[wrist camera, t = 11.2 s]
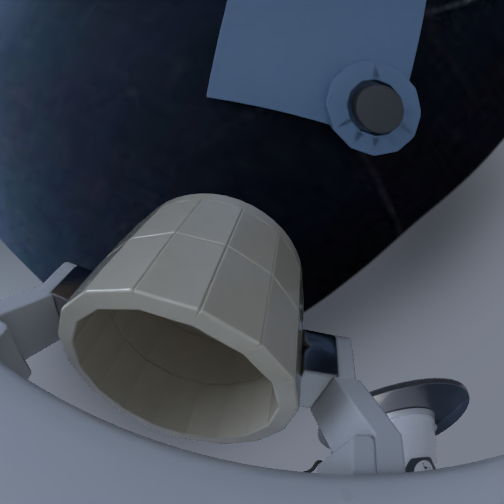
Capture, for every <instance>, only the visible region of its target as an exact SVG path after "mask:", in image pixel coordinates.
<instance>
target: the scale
mask: <svg viewBox="0 0 504 504" xmlns="http://www.w3.org/2000/svg"><path fill="white" fill-rule="evenodd" d="M425 5H426V0H227V4H226V8H225V12H224V16H223V20H222V25H221V29H220V33H219V38H218V42H217V47H216V51H215V56H214V61H213V66H212V71H211V76H210V81H209V86H208V91H207V97H208V98H215V99H221V100H227V101H233V102H238V103H243V104H248V105H253V106H258V107H263V108H267V109H272V110H276V111H280V112H285V113H289V114H293V115H297V116H300V117H304V118H308V119H312V120H315V121H319V122H322V123H326V124H329V125H330V126H331V128H332V129H333V130H334V131H335V132H336V133H337V134H338V135H339V136H340V137H341V138H342V139H343V140H344V141H345V143H346V144H347V145H348V146H349V147H351V148H352V149H355V150H358V151H361V152H364V153H367V154H370V155H373V156H374V155H375V156H376V155H381V154H387V153H392V152H396V151H399V150H400V149H401V148H402V147H403V146H404V145H405V144H406V143H408V142H409V141H410V140H411V139H412V138H413V137H414V135H415V133H416V129H417V126H418V123H419V120H420V116H421V114H420V113H421V110H420V105H419V100H418V96H417V91H416V88H415V87H414V86H413V85H412V83H411V82H410V81H409V79H410V75H411V71H412V67H413V63H414V59H415V55H416V50H417V46H418V41H419V37H420V32H421V27H422V22H423V16H424V11H425ZM366 85H384V86H387V87H389V88H391V89H393V90H394V91H395V92H396V93H397V94H398V95H399V97H400V98H401V100H402V103H403V107H404V115H403V119H402V122H401V123H400V125H399V126H398V127H397V128H396V129H395V130H393V131H392V132H389V133H384V134H380V133H375V132H372V131H370V130H368V129H367V128H365V127H364V126H362V125H361V124H360V123H359V122H358V121H357V120H356V118H355V116H354V114H353V111H352V100H353V97H354V95H355V93H356V92H357V91H358V90H359V89H360V88H362V87H364V86H366Z"/></svg>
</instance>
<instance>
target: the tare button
mask: <svg viewBox="0 0 504 504" xmlns="http://www.w3.org/2000/svg"><path fill="white" fill-rule="evenodd" d="M352 111H353V114H354V116H355V118H356V120H357V121H358V122H359V123H360V124H361V125H362V126H364V127H365V128H367V129H368V130H370V131H372V132H375V133H380V134H384V133H389V132H392V131H393V130H395V129H396V128H397V127H398V126H399V125H400V123H401V122H402V119H403V115H404V107H403V103H402V100H401V98H400V97H399V95H398V94H397V93H396V92H395V91H394V90H393V89H391V88H389V87H387V86H384V85H366V86H364V87H362V88H360V89H359V90H358V91H357V92H356V93H355V95H354V97H353V100H352Z"/></svg>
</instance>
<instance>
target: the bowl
mask: <svg viewBox="0 0 504 504" xmlns="http://www.w3.org/2000/svg"><path fill="white" fill-rule="evenodd" d="M303 304H304V294H303V279H302V267H301V262H300V259H299V256H298V253H297V251H296V249H295V247H294V245H293V243H292V241H291V240H290V238H289V237H288V236H287V234H286V233H285V232H284V230H283V229H282V228H281V227H280V226H279V225H278V224H277V223H276V222H275V221H274V220H273V219H271V218H270V217H269V216H268V215H266V214H265V213H264V212H262V211H261V210H259V209H257V208H256V207H254V206H252V205H250V204H248V203H245V202H243V201H241V200H238V199H235V198H231V197H228V196H223V195H217V194H191V195H186V196H182V197H178V198H175V199H173V200H170V201H168V202H166V203H164V204H163V205H161V206H159V207H158V208H157V209H155V210H154V211H153V212H152V213H151V214H150V215H149V216H148V217H147V218H145V219H144V220H143V221H141V222H140V223H139V224H138V225H137V226H136V227H135V228H134V229H133V230H132V231H131V232H130V233H129V234H128V235H127V236H126V237H125V238H124V239H123V240H122V241H121V242H120V243H119V244H118V245H117V246H116V247H115V248H114V249H113V250H112V251H111V252H110V254H109V255H108V256H107V257H106V258H105V259H104V260H103V261H102V262H101V263H100V264H99V265H98V266H97V268H96V269H95V270H94V271H93V272H92V273H91V274H90V275H89V276H88V278H87V279H86V280H85V281H84V282H83V283H82V284H81V286H80V287H79V288H78V289H77V290H76V291H75V292H74V294H73V295H72V296H71V297H70V298H69V300H68V301H67V302H66V303H65V304H64V306H63V307H62V309H61V315H60V322H59V330H58V334H59V335H58V336H59V338H60V341H61V344H62V346H63V349H64V351H65V353H66V356H67V358H68V361H69V362H70V364H71V365H72V366H73V368H74V369H75V370H76V371H77V373H78V374H79V375H80V376H81V377H82V379H83V380H84V381H85V382H86V383H87V384H88V386H89V387H90V388H91V389H92V390H93V391H95V392H96V393H97V394H98V395H99V396H101V397H102V398H103V399H105V400H106V401H107V402H108V403H110V404H111V405H112V406H113V407H115V408H116V409H117V410H120V411H121V412H122V413H124V414H126V415H128V416H130V417H131V418H133V419H135V420H137V421H139V422H141V423H143V424H145V425H147V426H149V427H152V428H154V429H156V430H159V431H163V432H165V433H168V434H171V435H175V436H178V437H181V438H185V439H189V440H196V441H203V442H211V443H220V444H230V443H242V442H252V441H256V440H260V439H263V438H265V437H268V436H270V435H272V434H275V433H277V432H279V431H281V430H283V429H285V427H286V426H287V424H288V423H289V422H290V421H291V419H292V418H293V417H294V415H295V414H296V412H297V411H298V410H299V405H300V388H301V368H302V341H303Z"/></svg>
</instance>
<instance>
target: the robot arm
mask: <svg viewBox="0 0 504 504" xmlns="http://www.w3.org/2000/svg"><path fill="white" fill-rule="evenodd" d="M92 272H93V271H91V270H88V269H86V268H83V267H81V266H77V265H75V264H72V263H70V262H66V263H63V264H62V265H61V266H60V267H59V268H58V269H57V270H56V271H55V272H54V273H53V274H52V275H51V276H50V277H49V278H48V279H47V280H46V281H45V282H44V283H43V284H42V286H41V287H40V288H39V289H38V288H32V289H30V290H27V291H24V292H22V293H19V294H16V295H13V296H11V297H8V298H6V299H3V300H0V504H504V455H500V456H497V457H493V458H490V459H485V460H481V461H477V462H472V463H468V464H463V465H458V466H453V467H446V468H440V469H436V468H435V464H436V438H435V431H436V430H437V424H436V423H435V413H434V412H433V411H432V410H430V409H426V408H409V409H403V410H398V411H394V412H390V413H387V414H385V412H384V411H383V410H382V409H381V407H380V406H379V405H378V403H377V402H376V401H375V399H374V398H373V397H372V396H371V394H370V393H369V392H368V390H367V389H366V388H365V386H364V385H363V384H362V383H361V381H358V380H356V378H355V368H354V359H353V351H352V343H351V340H350V338H346V337H341V336H335V335H334V336H333V335H329V334H324V333H319V332H314V331H309V330H303V341H302V368H301V388H300V405H299V406H302V407H307V408H311V412H312V413H313V416H314V418H315V419H316V421H317V423H318V425H319V427H320V429H321V431H322V433H323V435H324V437H325V439H326V441H327V443H328V445H329V446H330V448H331V450H332V451H331V456H329V457H328V458H327V459H326V460H324V461H322V460H317V461H316V462H315V464H314V465H313V467H312V468H311V469H309V470H308V471H304V472H297V471H287V470H279V469H272V468H265V467H258V466H253V465H247V464H242V463H237V462H232V461H227V460H222V459H218V458H214V457H210V456H206V455H202V454H198V453H194V452H191V451H187V450H184V449H180V448H177V447H174V446H171V445H167V444H164V443H161V442H158V441H155V440H152V439H150V438H147V437H144V436H141V435H138V434H136V433H133V432H131V431H128V430H126V429H123V428H121V427H118V426H116V425H114V424H111V423H109V422H107V421H104V420H102V419H100V418H98V417H95V416H93V415H91V414H89V413H87V412H85V411H83V410H81V409H79V408H77V407H75V406H73V405H71V404H69V403H67V402H65V401H63V400H62V399H60V398H58V397H56V396H54V395H53V394H51V393H49V392H47V391H45V390H43V389H42V388H40V387H39V386H37V385H35V384H34V383H32V382H31V381H29V380H28V378H29V376H30V375H31V370H30V368H29V366H28V364H27V363H26V361H25V360H26V359H27V358H29V357H31V356H32V355H34V354H36V353H37V352H39V351H41V350H43V349H44V348H46V347H48V346H49V345H51V344H53V343H55V342H56V341H58V340H60V338H59V336H58V335H59V334H58V330H59V322H60V315H61V309H62V307H63V306H64V304H65V303H66V302H67V301H68V300H69V298H70V297H71V296H72V295H73V294H74V292H75V291H76V290H77V289H78V288H79V287H80V286H81V284H82V283H83V282H84V281H85V280H86V279H87V278H88V276H89V275H90V274H91V273H92ZM318 464H319V465H318ZM317 465H318V470H317V473H311V472H312V471H314V470H315V468H316V467H317Z"/></svg>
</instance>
